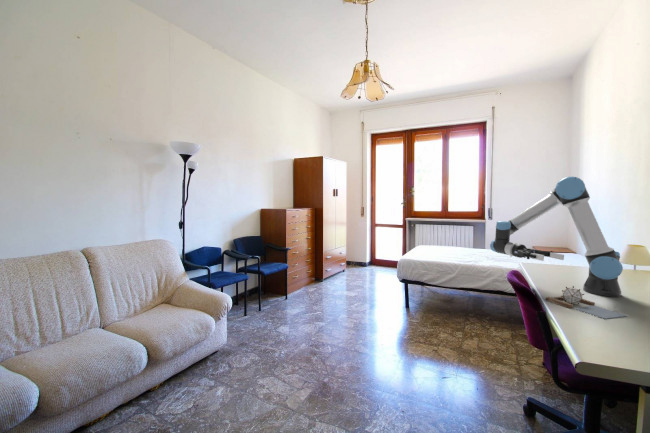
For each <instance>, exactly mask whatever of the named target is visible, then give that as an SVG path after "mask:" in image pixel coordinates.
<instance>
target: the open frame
mask: <svg viewBox="0 0 650 433" xmlns="http://www.w3.org/2000/svg"><path fill="white" fill-rule="evenodd" d="M561 296H562V295H560V296H552V297H550V296H546V297H545V301H547V302H550V303H553V304H556V305H559V306H561V307H565V308H567V309H574V304H573V303H572V304H571V303H570V302H567V301H566V302H565V299H564V297H561ZM582 300H584V301H582ZM582 300H581V301H580V302H579V304H580V303H581V304H584V305H588V306H595V302H594V301H591V300H587V299H585V298H582Z"/></svg>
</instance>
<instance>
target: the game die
mask: <svg viewBox="0 0 650 433" xmlns="http://www.w3.org/2000/svg"><path fill="white" fill-rule="evenodd" d="M580 290H581V289H577V288H575V286H574V285H573V286H572V287H567V286H565V289H564V290H563V289H562V290H561V292H562V295H560V296H561V297H564V299H565V300H564V302H566V303H569V304H572V305H573V304H577V305H579V304H580V301H581V300H582V299H583V296H584V295H585V293H582V292H581V291H580ZM582 301H584V300H582Z"/></svg>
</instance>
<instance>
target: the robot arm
mask: <svg viewBox="0 0 650 433" xmlns="http://www.w3.org/2000/svg"><path fill="white" fill-rule="evenodd" d="M590 198H591V197H590V194H589V192H588V190H587V188H586V184H585V182H584V180H582V179H581V178H580V177H578V176H565V177H563V178H561V179H560V180H559V181H557V183H556V184H555V188H554V189H552V190H550V191H549V194H548V195H546V196H545V197H543V198H542V199H541V200H539V201H537V202H535V203H534V204H532V205H531V206H530V207H528V208H527V209H525V210H523V211H522V212H521V213H520V212H519V214H517V215H515V216H514V217H512V218H511V219H510V220H507V221H506V220H498V221H496V224H495V238H494V240H492V241H491V242H490V244H489V248H490V250H491V251H492V252H495V253H497V254H503V255H507V256H510V258H511V257H516V258H519V259H520V258H522V259H523V258H524V259H526V260H530V259H533V260H538V261H541V262H544V261H545V257H549V258H550V259H551V258H552V259H555V260H560V261H564V259H565V258H564V257H565V254H562V253H556V252H554V251H553V250H550V251H549V250H547V251H546V250H540V249H534V248H533V249H532V248H527V246H526V245H524V244H521V243H516V242H511V241H510V237H511V235H514V233H515V232H517V231H519V230H520V229H522V228H523V227H526V226H528V224H530V223H531V222H533V221H536V219H538V218H540V217H541V216H543V215H544V214H546V213H548V212H550V211H551V210H553V209H555V208H556V207H558V206H560V205H562V206H563V207H566V208H567V209H568V211H569V212H568V213H569V214H570V216H571V218H572V220H573V222H574V225H575V227H576V230H577V232H578V234H579V237H580V238H581V241H582V243H583V245H584V248H585V250H586V251H585V254H584V257H585V259H586V261H587V264H588V276H587V278H586V281H585V282H584V283H583V286H582V288H583V291H585V292H587V293H590V294H594V295H598V296H604V297H613V298H614V297H615V298H619V297H622V290H621V287H620V284H619V280H618V279H619V277H620V276H621V274H622V273H623V268H624V267H623V264H622V263H621V261H620V258H621V253H620V252H619V251H615V249H614V248H613V247H610V246H609V245H608V242H607V241H606V238H605V237H604V234H603V232H602V230H601V228H600V225H599V222H598V221H597V218H596V217H595V214H594V213H593V211H592V208H591V205H590V204H589V200H590Z"/></svg>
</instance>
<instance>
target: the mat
mask: <svg viewBox="0 0 650 433" xmlns="http://www.w3.org/2000/svg"><path fill="white" fill-rule="evenodd" d="M575 309H576V311H578V310H579V311H578V312H581V311H582V312H581V313H584V312H585V313H584V314H587V313H588V314H587V315H590V314H591V316H593V315H594V316H593V317H596V316H598V317H597V318H599V317H600V318H599V319H602V318H603V320H609V319H618V318H625V317H628V315H627V314H625V313H620V312H618V311H614V310H612V309H611V310H610V309H607V308H604V307H600V306H598V305H594V306H590V305H588V306H581V307H578V306H577V307H573V310H575Z"/></svg>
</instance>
